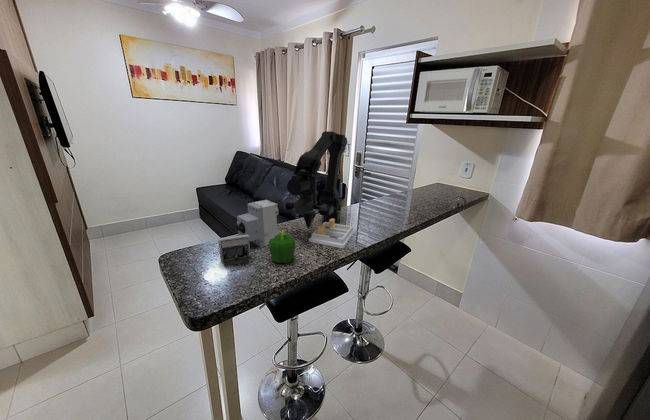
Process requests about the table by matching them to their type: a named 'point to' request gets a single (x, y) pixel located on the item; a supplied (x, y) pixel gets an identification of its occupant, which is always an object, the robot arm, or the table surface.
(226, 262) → the electrical switch
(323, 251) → the table surface
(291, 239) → the bell pepper
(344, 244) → the switch bank
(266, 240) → the circuit breaker
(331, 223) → the far tab
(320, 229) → the near tab
